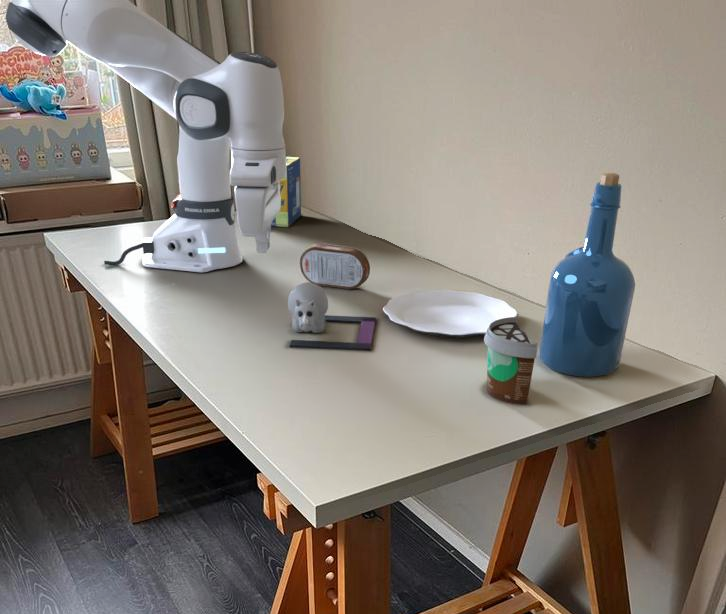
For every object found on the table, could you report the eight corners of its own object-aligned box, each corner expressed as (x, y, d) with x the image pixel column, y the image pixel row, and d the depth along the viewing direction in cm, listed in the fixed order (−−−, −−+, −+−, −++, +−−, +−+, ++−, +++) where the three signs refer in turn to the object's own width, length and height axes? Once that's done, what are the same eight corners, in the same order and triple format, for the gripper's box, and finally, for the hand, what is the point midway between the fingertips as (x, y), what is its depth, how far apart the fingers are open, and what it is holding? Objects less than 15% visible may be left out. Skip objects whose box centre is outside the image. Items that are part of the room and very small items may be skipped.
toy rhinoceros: (283, 345, 135) (281, 297, 130) (291, 322, 145) (289, 276, 141) (324, 346, 135) (324, 299, 130) (329, 323, 145) (329, 277, 140)
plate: (442, 291, 163) (442, 282, 162) (542, 321, 148) (543, 312, 147) (356, 317, 148) (356, 308, 147) (458, 355, 132) (459, 344, 132)
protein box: (251, 225, 209) (247, 163, 201) (266, 212, 222) (263, 154, 214) (288, 227, 208) (287, 165, 200) (302, 215, 221) (300, 156, 213)
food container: (471, 376, 125) (477, 316, 120) (509, 375, 125) (516, 315, 120) (488, 409, 114) (495, 345, 109) (529, 408, 115) (538, 344, 110)
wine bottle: (630, 379, 125) (672, 182, 109) (550, 380, 124) (581, 182, 108) (601, 347, 137) (636, 166, 121) (527, 348, 136) (553, 165, 120)
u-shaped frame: (289, 347, 134) (289, 344, 134) (302, 316, 148) (302, 314, 148) (370, 350, 133) (370, 348, 133) (375, 319, 147) (375, 317, 147)
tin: (370, 288, 163) (371, 247, 159) (365, 292, 161) (366, 251, 157) (304, 280, 168) (303, 240, 163) (298, 284, 165) (297, 244, 161)
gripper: (251, 154, 136) (256, 235, 143) (227, 176, 119) (233, 266, 126) (287, 155, 136) (290, 236, 143) (267, 177, 119) (272, 267, 126)
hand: (263, 250), depth 135 cm, fingers closed
